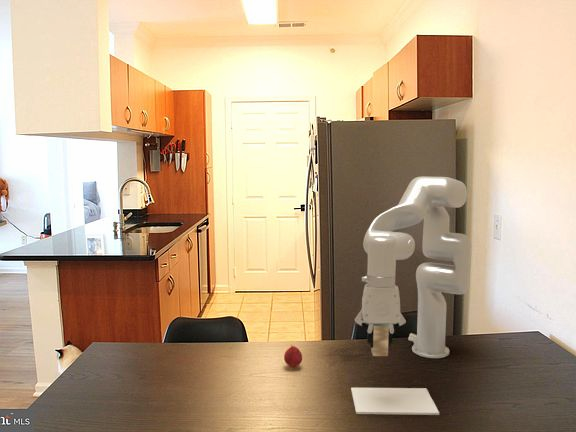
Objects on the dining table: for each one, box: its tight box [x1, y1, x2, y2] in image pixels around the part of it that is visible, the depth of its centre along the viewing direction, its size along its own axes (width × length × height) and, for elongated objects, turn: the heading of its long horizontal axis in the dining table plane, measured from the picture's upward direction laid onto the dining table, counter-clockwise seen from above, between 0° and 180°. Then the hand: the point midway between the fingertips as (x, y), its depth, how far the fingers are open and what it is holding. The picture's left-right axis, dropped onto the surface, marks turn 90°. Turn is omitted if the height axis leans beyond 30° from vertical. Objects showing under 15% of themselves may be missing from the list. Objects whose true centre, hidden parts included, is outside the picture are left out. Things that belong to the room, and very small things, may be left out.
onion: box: [283, 344, 303, 369], centre depth 162 cm, size 6×6×8 cm
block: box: [370, 324, 389, 357], centre depth 138 cm, size 4×4×10 cm
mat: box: [350, 387, 440, 416], centre depth 140 cm, size 22×14×1 cm, turn 89°
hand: (379, 345), depth 138 cm, fingers closed on block, 4 cm apart
